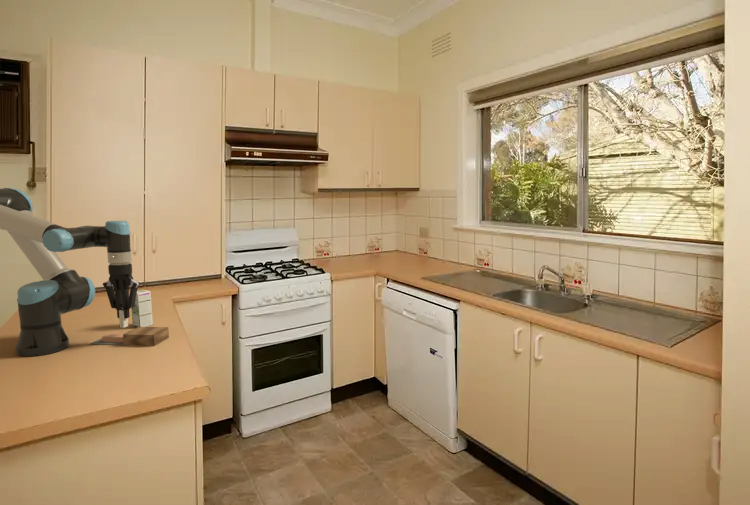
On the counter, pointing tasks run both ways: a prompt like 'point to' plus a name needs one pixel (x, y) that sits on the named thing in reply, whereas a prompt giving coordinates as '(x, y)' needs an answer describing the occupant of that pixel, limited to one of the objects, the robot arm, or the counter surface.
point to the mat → (105, 343)
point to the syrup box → (142, 309)
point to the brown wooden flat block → (146, 336)
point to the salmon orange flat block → (114, 337)
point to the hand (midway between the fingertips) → (124, 326)
